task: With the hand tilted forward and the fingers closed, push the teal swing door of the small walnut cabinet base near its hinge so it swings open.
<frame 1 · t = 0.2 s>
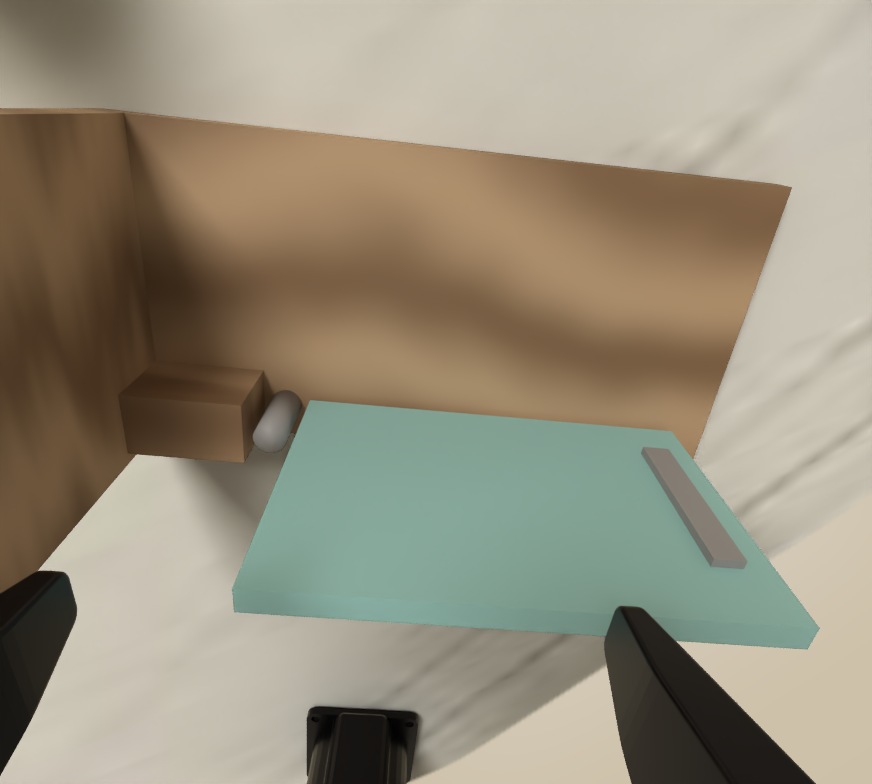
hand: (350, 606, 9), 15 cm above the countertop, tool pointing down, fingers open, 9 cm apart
cabinet base: (433, 305, 22), on the countertop
door: (483, 493, 19), point 6 cm above the countertop, hinge at 0.0°
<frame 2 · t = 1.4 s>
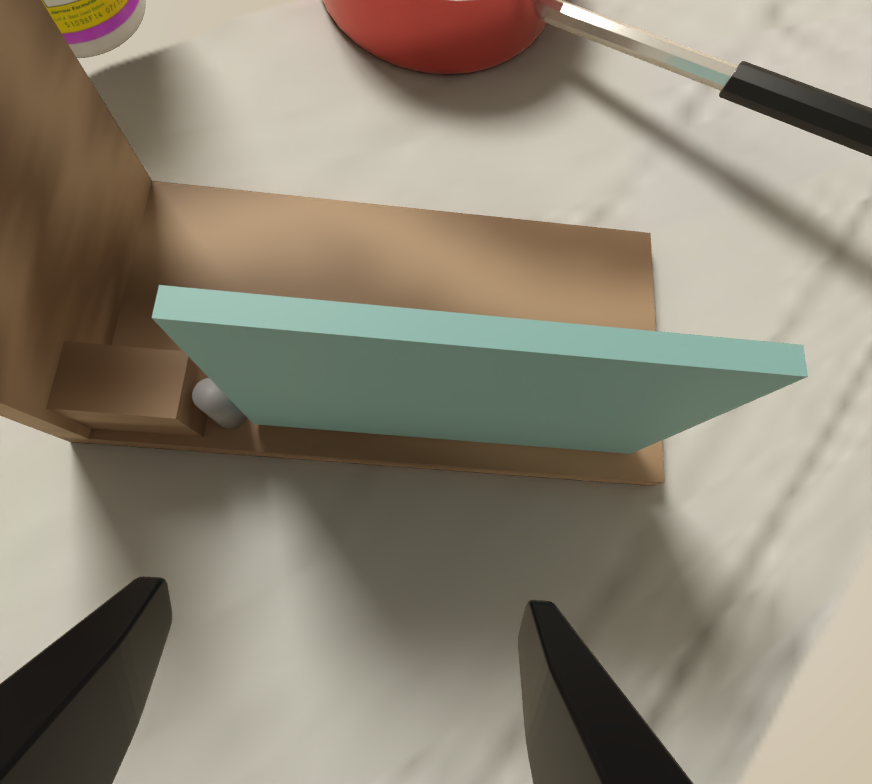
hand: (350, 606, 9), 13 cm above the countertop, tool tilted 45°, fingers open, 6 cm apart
supplement bottle: (83, 16, 28), on the countertop
cabinet base: (383, 333, 25), on the countertop
frying pan: (587, 66, 31), on the countertop
door: (437, 391, 18), point 6 cm above the countertop, hinge at 0.0°
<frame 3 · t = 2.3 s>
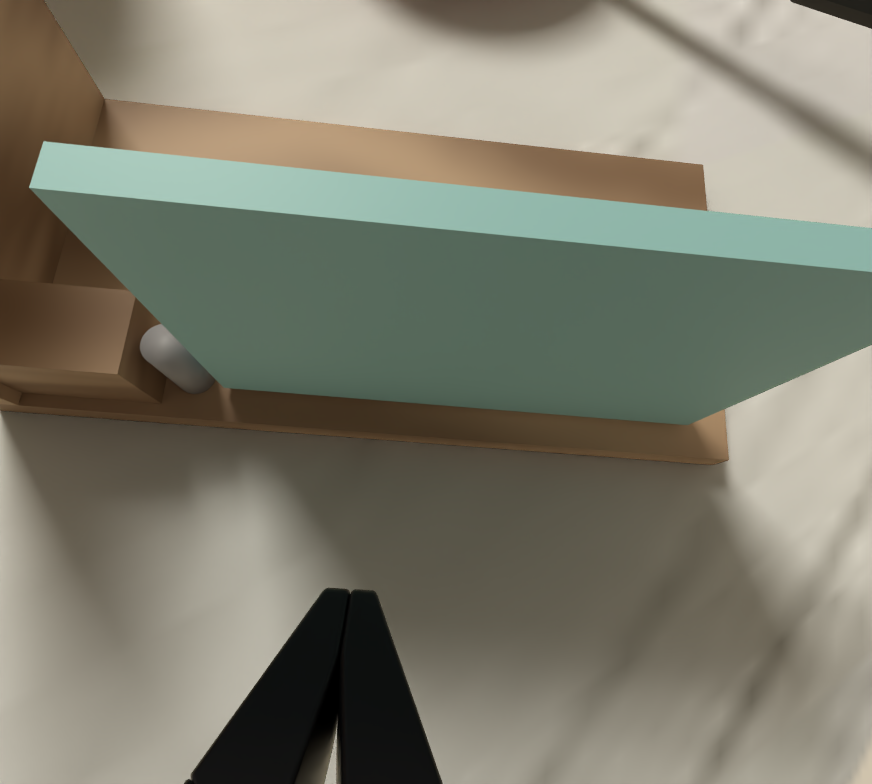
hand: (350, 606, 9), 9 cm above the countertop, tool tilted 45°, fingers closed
cabinet base: (384, 282, 21), on the countertop
door: (454, 334, 14), point 6 cm above the countertop, hinge at 0.0°
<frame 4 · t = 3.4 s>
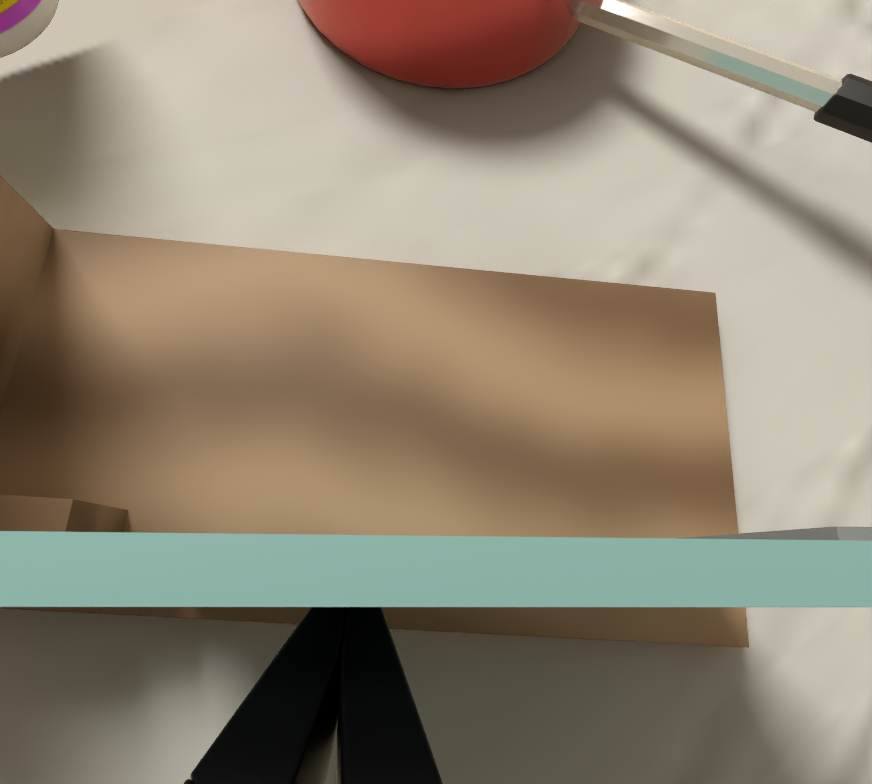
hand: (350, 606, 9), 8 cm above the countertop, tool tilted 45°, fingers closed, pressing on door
cabinet base: (365, 432, 18), on the countertop
frying pan: (631, 78, 24), on the countertop
door: (439, 563, 12), point 6 cm above the countertop, hinge at 3.0°, touching gripper
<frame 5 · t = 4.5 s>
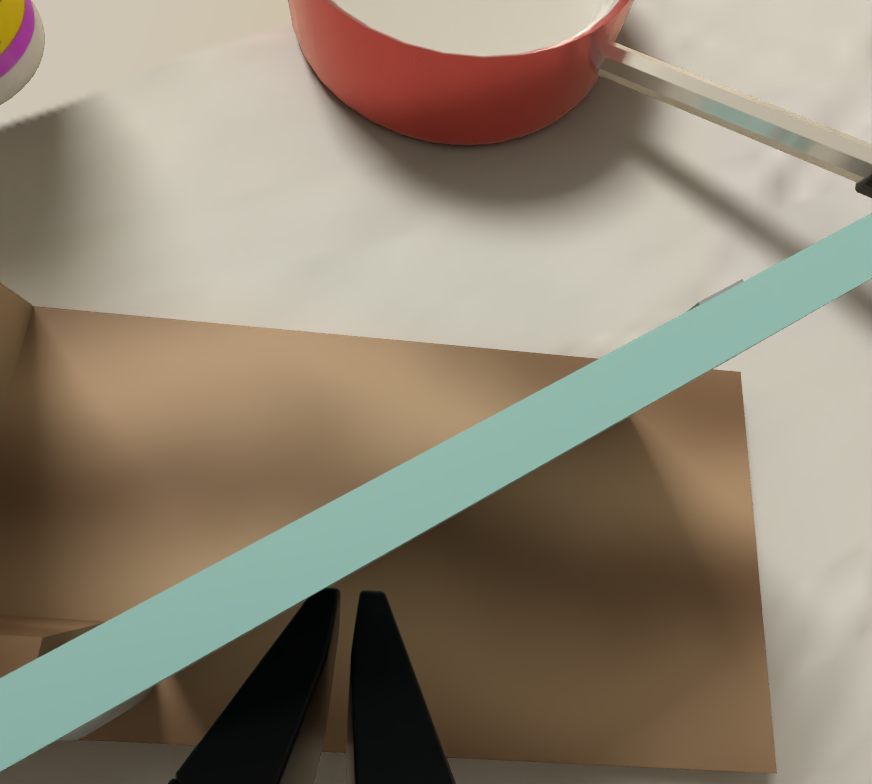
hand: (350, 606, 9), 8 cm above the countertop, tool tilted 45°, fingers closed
cabinet base: (364, 526, 17), on the countertop
frying pan: (654, 131, 23), on the countertop
door: (392, 524, 11), point 6 cm above the countertop, hinge at 32.8°, touching gripper
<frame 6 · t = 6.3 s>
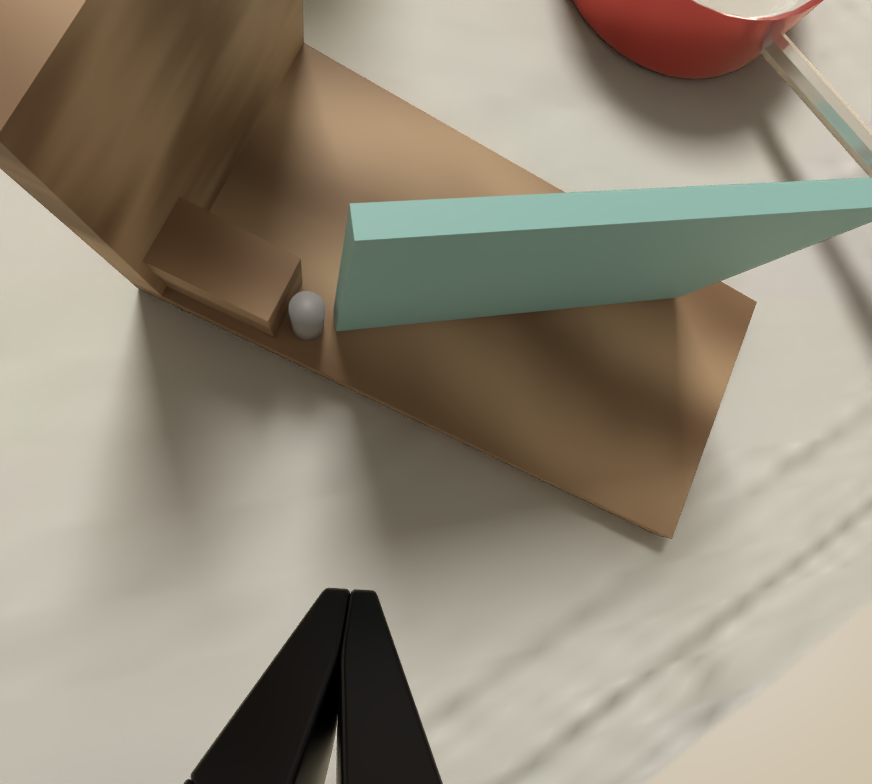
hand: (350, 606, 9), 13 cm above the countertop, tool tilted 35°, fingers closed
cabinet base: (474, 298, 24), on the countertop
frying pan: (776, 117, 29), on the countertop
door: (548, 268, 18), point 6 cm above the countertop, hinge at 32.8°
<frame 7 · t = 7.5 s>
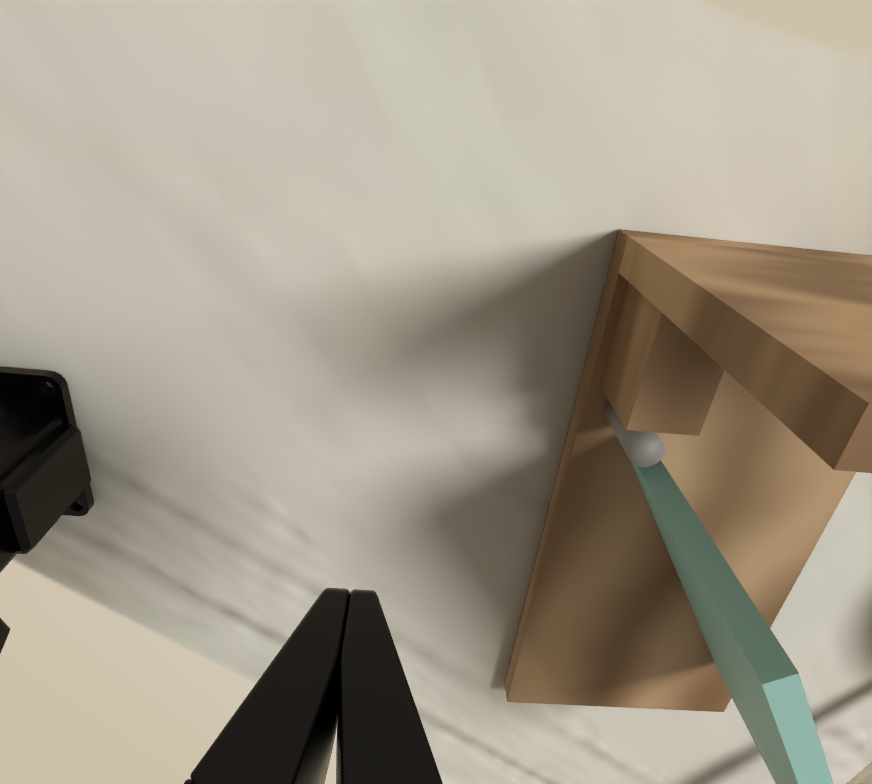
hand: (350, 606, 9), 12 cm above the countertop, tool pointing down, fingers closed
cabinet base: (678, 517, 25), on the countertop
door: (736, 652, 20), point 6 cm above the countertop, hinge at 32.8°
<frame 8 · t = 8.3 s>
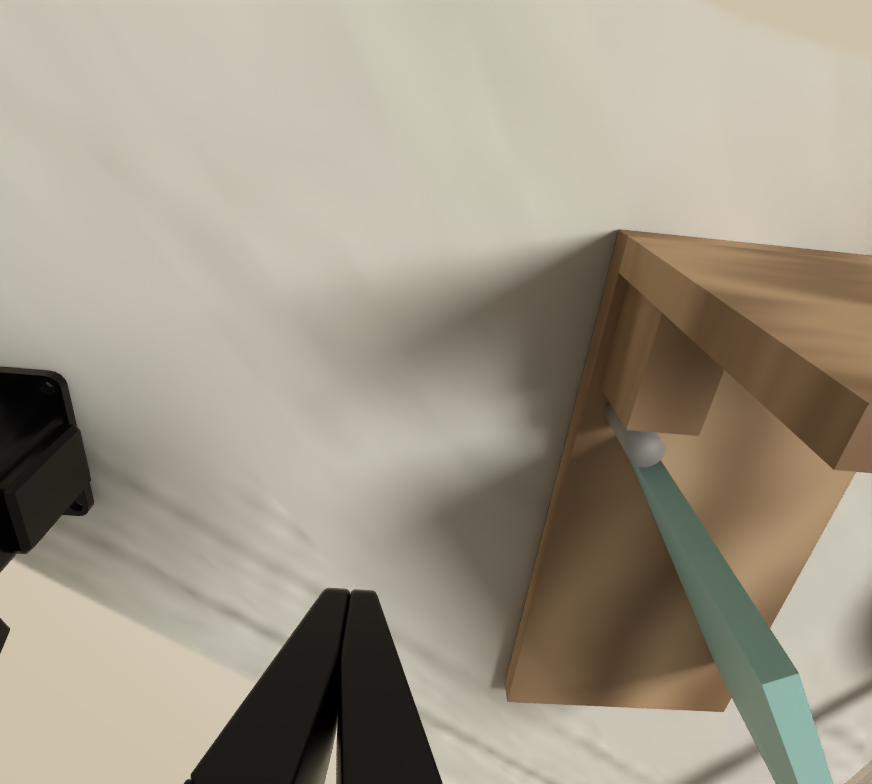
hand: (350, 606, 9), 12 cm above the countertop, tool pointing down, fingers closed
cabinet base: (678, 517, 25), on the countertop
door: (736, 652, 20), point 6 cm above the countertop, hinge at 32.8°
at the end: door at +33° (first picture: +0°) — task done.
